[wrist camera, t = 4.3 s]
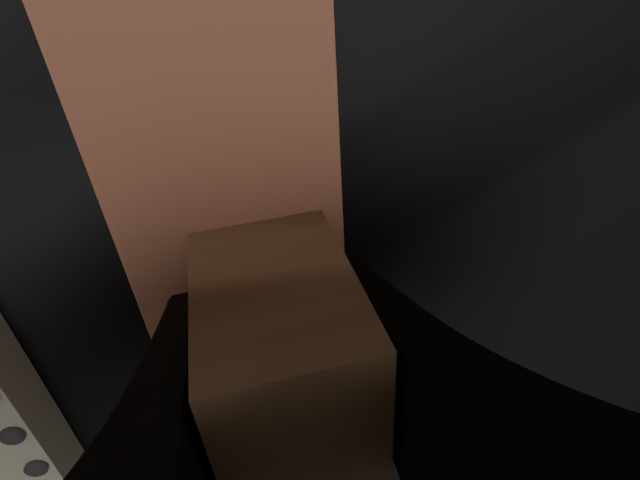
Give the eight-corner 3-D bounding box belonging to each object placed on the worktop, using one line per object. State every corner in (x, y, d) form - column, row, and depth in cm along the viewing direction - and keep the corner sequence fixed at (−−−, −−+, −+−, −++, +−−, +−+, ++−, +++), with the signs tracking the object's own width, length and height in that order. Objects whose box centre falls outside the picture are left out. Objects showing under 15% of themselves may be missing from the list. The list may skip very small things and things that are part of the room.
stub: (340, 402, 17) (405, 591, 12) (202, 437, 16) (209, 658, 11) (310, -52, 9) (465, -61, 4) (38, -30, 8) (-195, -6, 3)
